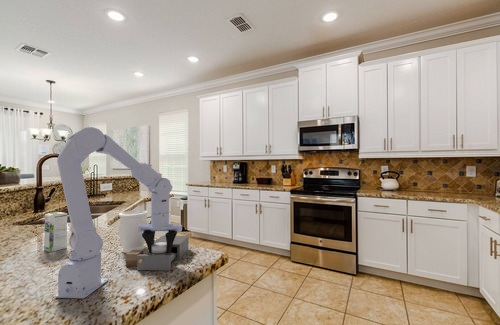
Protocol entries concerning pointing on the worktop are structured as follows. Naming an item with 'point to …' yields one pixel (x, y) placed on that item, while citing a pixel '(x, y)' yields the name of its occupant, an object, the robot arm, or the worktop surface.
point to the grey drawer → (155, 261)
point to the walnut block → (132, 257)
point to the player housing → (177, 245)
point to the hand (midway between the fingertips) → (160, 252)
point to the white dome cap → (159, 247)
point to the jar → (132, 230)
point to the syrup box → (55, 231)
